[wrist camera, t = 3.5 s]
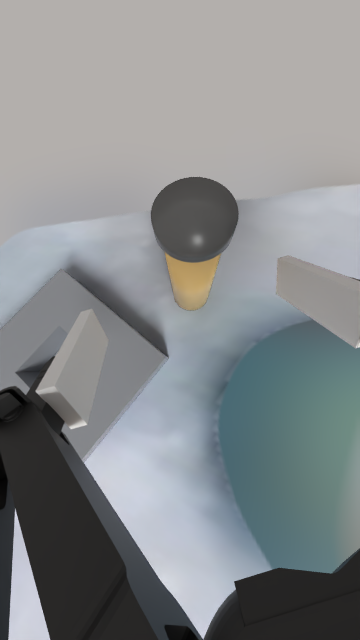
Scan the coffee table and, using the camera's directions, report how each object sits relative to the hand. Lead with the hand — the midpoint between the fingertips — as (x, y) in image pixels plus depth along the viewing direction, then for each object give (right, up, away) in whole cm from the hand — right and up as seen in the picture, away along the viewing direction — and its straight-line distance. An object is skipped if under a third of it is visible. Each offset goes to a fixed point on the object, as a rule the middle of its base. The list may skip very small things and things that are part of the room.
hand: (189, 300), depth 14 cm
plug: (+1, +2, +11) cm, 12 cm away
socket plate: (-13, -7, +10) cm, 18 cm away
